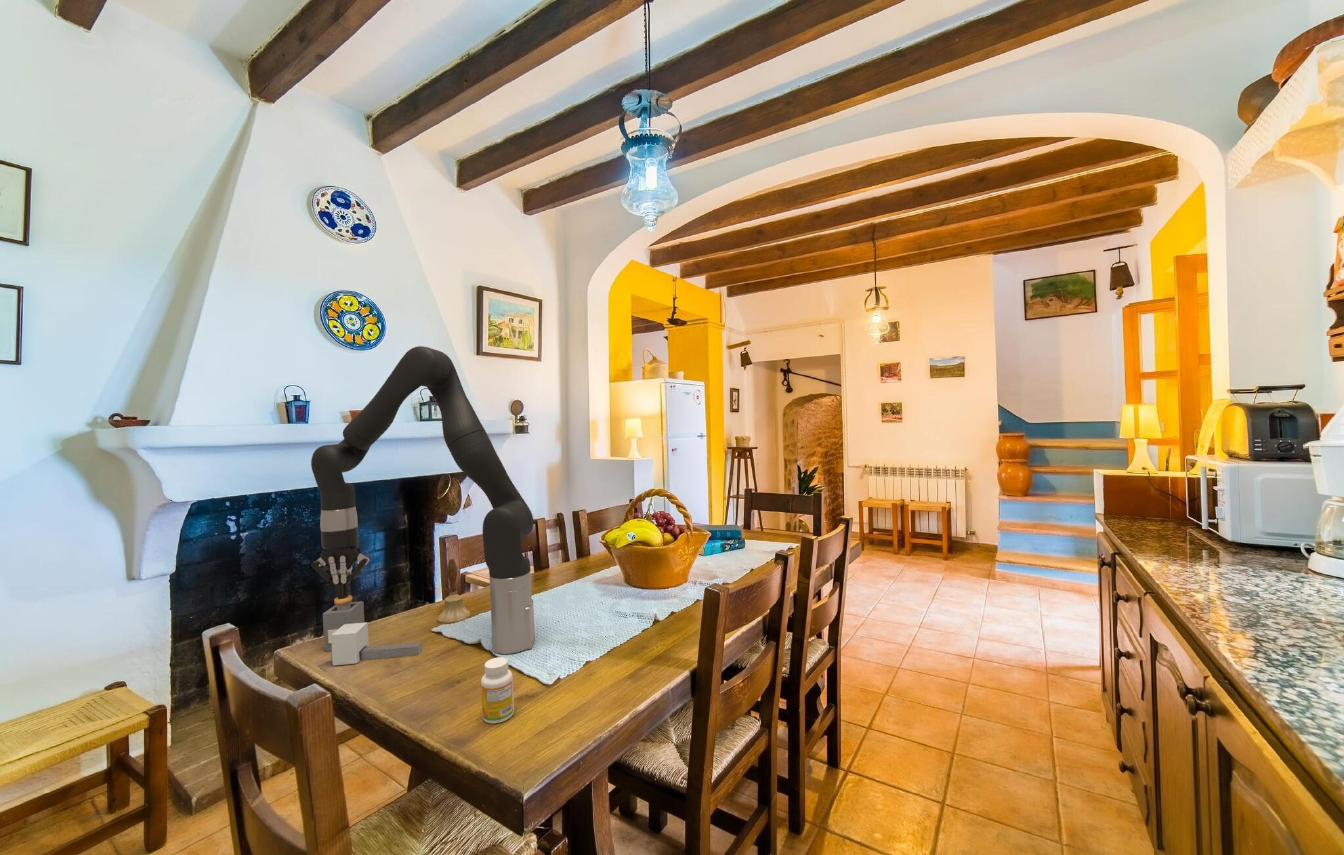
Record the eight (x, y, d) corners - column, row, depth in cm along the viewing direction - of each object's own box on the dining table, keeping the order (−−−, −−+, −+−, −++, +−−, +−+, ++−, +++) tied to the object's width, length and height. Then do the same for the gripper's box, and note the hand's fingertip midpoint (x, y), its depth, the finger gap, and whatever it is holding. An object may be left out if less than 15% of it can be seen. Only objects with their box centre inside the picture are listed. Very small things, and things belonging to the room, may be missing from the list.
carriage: (368, 651, 120) (367, 622, 120) (357, 663, 115) (355, 632, 114) (345, 653, 120) (344, 624, 120) (332, 665, 114) (331, 635, 114)
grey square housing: (365, 636, 129) (363, 601, 129) (351, 649, 122) (349, 611, 122) (339, 638, 128) (337, 603, 128) (324, 652, 121) (322, 614, 121)
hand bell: (476, 614, 141) (474, 557, 141) (448, 625, 135) (445, 564, 134) (459, 609, 146) (456, 553, 146) (431, 619, 139) (428, 560, 139)
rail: (421, 650, 120) (421, 641, 120) (418, 654, 118) (417, 646, 118) (338, 657, 118) (338, 649, 118) (333, 662, 116) (332, 654, 115)
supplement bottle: (487, 708, 95) (484, 656, 95) (517, 705, 96) (514, 654, 96) (478, 725, 90) (476, 670, 90) (510, 723, 90) (508, 668, 90)
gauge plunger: (355, 614, 127) (354, 594, 127) (348, 620, 124) (347, 599, 124) (339, 615, 127) (338, 595, 127) (332, 621, 123) (331, 600, 123)
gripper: (375, 521, 129) (378, 590, 130) (318, 525, 127) (321, 594, 128) (362, 528, 122) (365, 600, 122) (300, 531, 120) (304, 605, 120)
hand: (343, 597), depth 125 cm, fingers closed
